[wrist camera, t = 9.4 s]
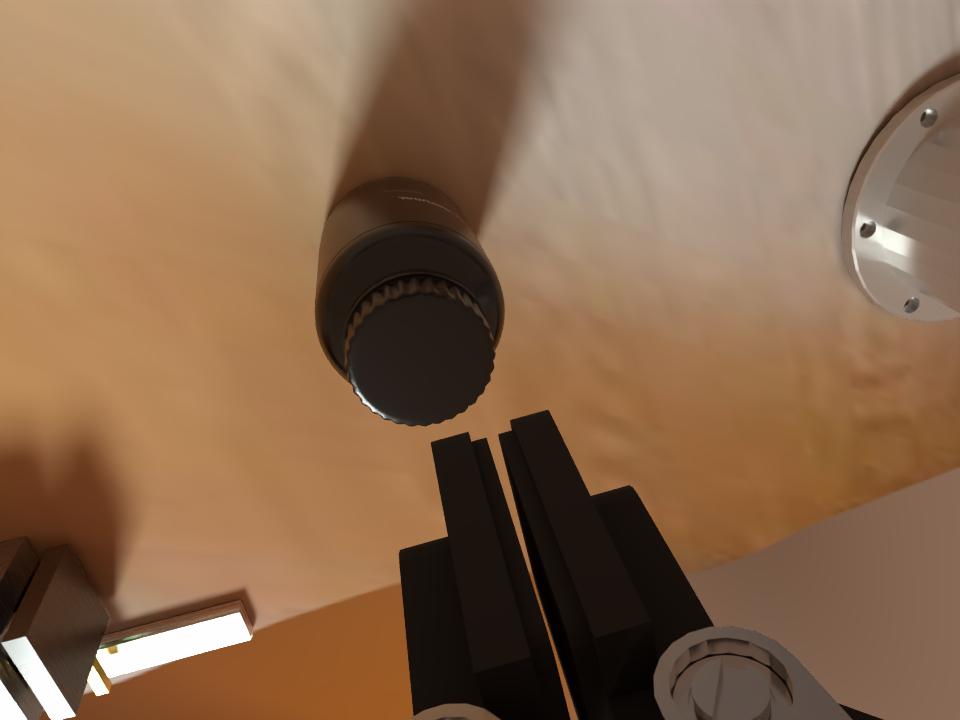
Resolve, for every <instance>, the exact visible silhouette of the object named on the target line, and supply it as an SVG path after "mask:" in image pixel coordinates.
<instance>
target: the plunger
mask: <svg viewBox="0 0 960 720" xmlns="http://www.w3.org/2000/svg"><path fill="white" fill-rule="evenodd" d="M108 620H109V616H108V615H107V613H106V611H105V609H104V607H103V606H102V604H101V602H100V600H99V598H98V597H97V595H96V593H95V591H94V589H93V587H92V586H91V584H90V582H89V580H88V578H87V577H86V575H85V573H84V571H83V569H82V567H81V566H80V564H79V562H78V560H77V558H76V557H75V555H74V553H73V551H72V549H71V548H70V546H69V544H66V545H62V546H58V547H54V548H50V549H47V551H46V553H45V555H44V557H43V559H42V561H41V563H40V565H39V567H38V569H37V571H36V573H35V575H34V577H33V579H32V581H31V583H30V585H29V587H28V589H27V591H26V593H25V595H24V597H23V600H22V602H21V604H20V606H19V608H18V610H17V611H15V612H12V613H11V615H10V617H9V619H8V621H7V623H6V625H5V627H4V629H3V631H2V633H1V635H0V649H1V651H2V652H3V654H4V655H5V657H6V658H7V659H8V658H11V659H12V660H13V662H14V663H15V665H16V666H17V668H18V669H19V671H20V672H21V674H22V676H23V677H24V679H25V680H26V682H27V683H28V685H29V686H30V688H31V689H32V691H33V692H34V694H35V695H36V697H37V698H38V700H39V701H40V703H41V705H42V706H43V708H44V709H45V711H46V712H47V714H48V715H49V717H50V718H51V720H62V719H65V718H69V717H73V716H76V713H77V710H78V707H79V704H80V702H81V699H82V696H83V693H84V690H85V687H86V684H87V681H88V682H89V683H90V685H91V687H92V688H93V690H94V692H95V693H96V695H97V696H98V695H102V694H105V693H109V690H110V687H111V684H112V683H111V681H110V680H109V678H108V676H107V674H106V673H105V671H104V669H103V668H102V666H101V664H100V662H99V661H98V659H97V657H96V655H97V652H98V649H99V646H100V643H101V640H102V638H103V635H104V632H105V629H106V626H107V623H108Z"/></svg>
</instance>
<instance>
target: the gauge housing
mask: <svg viewBox="0 0 960 720" xmlns="http://www.w3.org/2000/svg"><path fill="white" fill-rule="evenodd" d="M37 562H38V558H37V556H36V555H35V553H34V551H33V549H32V548H31V546H30V544H29V543H28V541H27V539H26V537H22V538H18V539H14V540H10V541H6V542H2V543H0V635H1V633H2V631H3V629H4V627H5V625H6V623H7V621H8V619H9V617H10V615H11V613H12V611H13V609H14V607H15V605H16V603H17V601H18V600H19V598H20V596H21V594H22V592H23V590H24V588H25V586H26V584H27V582H28V580H29V578H30V576H31V574H32V572H33V570H34V568H35V566H36V564H37ZM252 634H253V627H252V625H251V622H250V620H249V618H248V615H247V613H246V611H245V609H244V606H243V604H242V602H241V599H240V600H237V601H233V602H229V603H225V604H221V605H218V606H214V607H210V608H206V609H202V610H199V611H195V612H191V613H187V614H184V615H180V616H176V617H172V618H168V619H165V620H161V621H157V622H153V623H149V624H146V625H142V626H138V627H134V628H131V629H127V630H123V631H119V632H115V633H112V634H108V635H104V636H103V638H102V640H101V643H100V646H99V649H98V652H97V655H96V657H97V659H98V661H99V662H100V664H101V666H102V668H103V669H104V671H105V673H106V674H107V676H108V678H109V677H113V676H117V675H120V674H124V673H128V672H132V671H135V670H139V669H143V668H146V667H150V666H154V665H158V664H161V663H165V662H169V661H172V660H176V659H180V658H184V657H187V656H191V655H195V654H198V653H202V652H206V651H210V650H213V649H217V648H221V647H225V646H228V645H232V644H236V643H239V642H243V641H247V640H250V639H251V637H252ZM42 710H43V706H42V705H41V703H40V701H39V700H38V698H37V697H36V695H35V694H34V692H33V691H32V689H31V688H30V686H29V685H28V683H27V682H26V680H25V679H24V677H23V676H22V674H21V672H20V671H19V669H18V668H17V666H16V665H15V663H14V662H13V660H12V659H11V658H8V659H7V658H6V657H5V655H4V654H3V652H2V651H1V649H0V720H39V718H40V715H41V712H42Z"/></svg>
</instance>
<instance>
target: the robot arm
mask: <svg viewBox="0 0 960 720" xmlns="http://www.w3.org/2000/svg"><path fill="white" fill-rule="evenodd" d="M841 235H842V245H843V255H844V258H845V262H846V265H847V268H848V271H849V274H850V276H851V277H852V279H853V281H854V282H855V284H856V285H857V287H858V289H859V290H860V291H861V292H862V293H863V294H864V295H865V296H866V297H867V298H868V299H869V300H870V301H871V302H872V303H874V304H876V305H878V306H879V307H881V308H882V309H884V310H886V311H887V312H889V313H891V314H893V315H896V316H898V317H900V318H903V319H906V320H912V321H919V322H939V321H948V320H952V319H956V318H960V73H959V74H957V75H954V76H952V77H950V78H947V79H945V80H943V81H940V82H938V83H936V84H935V85H933V86H932V87H930V88H929V89H927V90H926V91H924V92H922V93H921V94H919V95H918V96H916V97H915V98H914V99H912V100H911V101H910V102H909V103H908V104H907V105H906V106H905V107H903V108H902V109H901V110H900V111H899V112H898V113H897V114H896V115H895V116H893V118H892V119H891V120H890V121H889V122H888V124H887V125H886V126H885V127H884V128H883V130H882V131H881V132H880V133H879V134H878V135H877V137H876V138H875V139H874V141H873V143H872V144H871V146H870V147H869V149H868V151H867V152H866V154H865V155H864V157H863V159H862V160H861V162H860V164H859V167H858V169H857V171H856V173H855V176H854V178H853V180H852V183H851V185H850V188H849V192H848V195H847V199H846V203H845V207H844V210H843V221H842V232H841ZM510 423H511V428H512V431H508V432H505V433H501V434H498V436H499V441H500V445H501V449H502V453H503V457H504V461H505V465H506V469H507V473H508V477H509V481H510V485H511V489H512V493H513V497H514V501H515V505H516V509H517V513H518V517H519V521H520V525H521V529H522V533H523V537H524V541H525V545H526V549H527V553H528V556H529V560H530V564H531V568H532V572H533V576H534V580H535V584H536V588H537V591H538V595H539V598H540V601H541V604H542V607H543V611H544V614H545V617H546V620H547V623H548V626H549V629H550V633H551V636H552V639H553V642H554V645H555V648H556V651H557V655H558V658H559V661H560V664H561V667H562V670H563V673H564V677H565V679H566V683H567V686H568V689H569V692H570V695H571V698H572V702H573V705H574V708H575V711H576V714H577V717H578V720H883V719H880V718H877V717H874V716H871V715H869V714H866V713H863V712H861V711H858V710H855V709H852V708H849V707H847V706H844V705H841V704H838V703H837V702H836V701H835V700H834V699H833V698H832V697H831V696H830V694H829V693H828V692H827V691H826V690H825V689H824V688H823V687H822V686H821V685H820V683H819V682H818V681H817V680H816V679H815V678H814V677H813V676H812V675H811V673H810V672H809V671H808V670H807V669H806V668H805V667H804V666H803V665H802V664H801V662H800V661H799V660H798V659H797V658H796V657H795V656H794V655H793V654H792V653H791V652H789V651H788V650H787V649H786V648H784V647H783V646H782V645H781V644H780V643H778V642H777V641H775V640H774V639H771V638H769V637H767V636H765V635H763V634H761V633H758V632H756V631H753V630H749V629H744V628H739V627H734V626H722V627H714V625H713V623H712V621H711V620H710V618H709V616H708V615H707V613H706V611H705V609H704V608H703V606H702V604H701V602H700V601H699V599H698V597H697V596H696V594H695V592H694V590H693V589H692V587H691V585H690V584H689V582H688V580H687V579H686V577H685V575H684V573H683V571H682V570H681V568H680V566H679V565H678V563H677V561H676V559H675V558H674V556H673V554H672V553H671V551H670V549H669V547H668V546H667V544H666V542H665V541H664V539H663V537H662V535H661V534H660V532H659V530H658V528H657V527H656V525H655V523H654V522H653V520H652V518H651V516H650V515H649V513H648V511H647V510H646V508H645V506H644V504H643V503H642V501H641V499H640V497H639V496H638V494H637V493H636V491H635V490H634V488H633V487H631V486H630V485H628V486H625V487H621V488H618V489H614V490H611V491H607V492H604V493H600V494H596V495H593V496H590V494H589V492H588V490H587V488H586V486H585V484H584V482H583V480H582V478H581V476H580V473H579V471H578V469H577V467H576V465H575V463H574V461H573V459H572V457H571V455H570V453H569V451H568V449H567V447H566V445H565V443H564V440H563V438H562V436H561V434H560V432H559V430H558V428H557V426H556V424H555V422H554V420H553V418H552V416H551V414H550V412H549V410H545V411H542V412H538V413H534V414H531V415H527V416H524V417H520V418H516V419H513V420H510ZM431 447H432V452H433V458H434V463H435V468H436V474H437V479H438V484H439V490H440V495H441V500H442V506H443V511H444V516H445V522H446V527H447V532H448V537H444V538H441V539H437V540H434V541H430V542H427V543H423V544H419V545H416V546H412V547H409V548H405V549H402V550H400V552H399V564H400V574H401V585H402V596H403V605H404V606H403V607H404V617H405V628H406V639H407V650H408V660H409V671H410V682H411V693H412V703H413V714H414V717H412V718H410V719H409V720H570V716H569V712H568V708H567V704H566V700H565V696H564V692H563V688H562V684H561V680H560V676H559V672H558V669H557V664H556V661H555V657H554V653H553V650H552V646H551V643H550V640H549V636H548V632H547V629H546V626H545V623H544V620H543V616H542V613H541V610H540V607H539V604H538V601H537V598H536V594H535V591H534V588H533V585H532V581H531V578H530V575H529V572H528V569H527V565H526V562H525V559H524V556H523V553H522V550H521V546H520V543H519V540H518V537H517V534H516V530H515V527H514V524H513V521H512V518H511V515H510V511H509V508H508V505H507V502H506V499H505V496H504V492H503V489H502V486H501V483H500V480H499V476H498V473H497V470H496V467H495V464H494V461H493V457H492V454H491V451H490V448H489V445H488V441H487V438H483V439H480V440H476V441H472V442H471V439H470V435H469V432H466V433H462V434H459V435H455V436H451V437H448V438H444V439H440V440H437V441H433V442H431Z"/></svg>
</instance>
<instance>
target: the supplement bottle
mask: <svg viewBox="0 0 960 720" xmlns="http://www.w3.org/2000/svg"><path fill="white" fill-rule="evenodd" d="M504 315H505V307H504V298H503V292H502V289H501V285H500V282H499V280H498V277H497V275H496V272H495V270H494V268H493V266H492V265H491V263H490V261H489V259H488V257H487V256H486V254H485V252H484V250H483V249H482V247H481V245H480V243H479V242H478V240H477V238H476V236H475V234H474V233H473V231H472V229H471V227H470V226H469V224H468V222H467V220H466V219H465V217H464V216H463V214H462V213H461V211H460V210H459V208H458V207H457V206H456V205H455V203H454V202H453V201H452V200H451V199H450V198H449V197H447V196H446V195H445V194H444V193H443V192H441V191H440V190H438V189H437V188H435V187H433V186H431V185H429V184H427V183H424V182H422V181H418V180H415V179H410V178H402V177H391V178H383V179H378V180H374V181H371V182H368V183H366V184H363V185H361V186H360V187H358V188H356V189H354V190H353V191H351V192H350V193H349V194H347V195H346V196H345V197H344V198H343V199H342V200H341V201H340V202H339V203H338V204H337V205H336V207H335V208H334V209H333V211H332V212H331V214H330V216H329V218H328V220H327V222H326V224H325V227H324V229H323V233H322V237H321V243H320V249H319V260H318V273H317V285H316V298H315V323H316V330H317V335H318V338H319V342H320V344H321V347H322V349H323V352H324V353H325V355H326V357H327V359H328V360H329V362H330V363H331V365H332V366H333V367H334V369H335V370H336V371H337V372H338V373H339V374H340V375H341V376H342V377H343V378H344V379H345V380H346V381H347V382H349V383H350V384H351V385H352V386H353V392H354V393H355V394H356V395H357V396H359V397H360V400H361V402H362V404H364V405H365V406H368V407H369V408H370V410H371V411H372V413H375V414H379V415H380V416H381V417H382V418H383V419H384V420H392V421H393V422H395V423H396V424H406V425H408V426H416V425H421V426H428V425H430V424H432V423H434V424H439V423H441V422H443V421H444V420H448V419H453V418H454V417H455V416H456V415H457V414H459V413H463V412H465V411H466V409H467V408H468V406H470V405H472V404H474V403H475V402H476V400H477V398H478V396H480V395H481V394H483V393H484V390H485V386H486V385H487V384H488V383H489V382H490V378H491V377H490V374H491V372H492V371H493V369H494V362H493V360H494V358H495V355H496V353H495V350H496V348H497V346H498V343H499V340H500V338H501V334H502V330H503V325H504Z"/></svg>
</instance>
